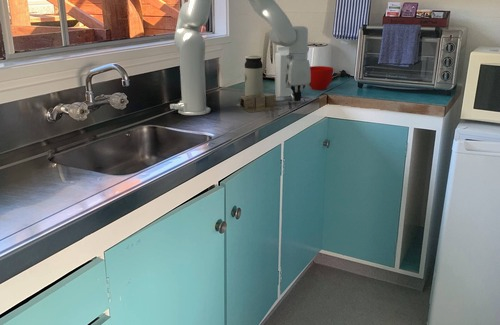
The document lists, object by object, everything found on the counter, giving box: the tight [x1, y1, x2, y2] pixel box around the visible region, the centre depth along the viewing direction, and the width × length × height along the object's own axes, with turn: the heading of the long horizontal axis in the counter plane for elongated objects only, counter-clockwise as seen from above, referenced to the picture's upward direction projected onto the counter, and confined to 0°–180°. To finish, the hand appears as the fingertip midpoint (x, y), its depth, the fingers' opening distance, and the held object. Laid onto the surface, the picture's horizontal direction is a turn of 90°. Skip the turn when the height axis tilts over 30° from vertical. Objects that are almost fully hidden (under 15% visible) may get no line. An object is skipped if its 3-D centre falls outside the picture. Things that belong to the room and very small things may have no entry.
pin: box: [276, 93, 294, 103], centre depth 210 cm, size 16×3×3 cm, turn 115°
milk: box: [274, 46, 293, 97], centre depth 224 cm, size 6×6×22 cm
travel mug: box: [244, 54, 264, 96], centre depth 225 cm, size 8×8×18 cm
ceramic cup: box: [309, 65, 334, 91], centre depth 242 cm, size 13×17×10 cm
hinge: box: [235, 92, 281, 114], centre depth 206 cm, size 14×13×5 cm
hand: (297, 100), depth 214 cm, fingers closed
